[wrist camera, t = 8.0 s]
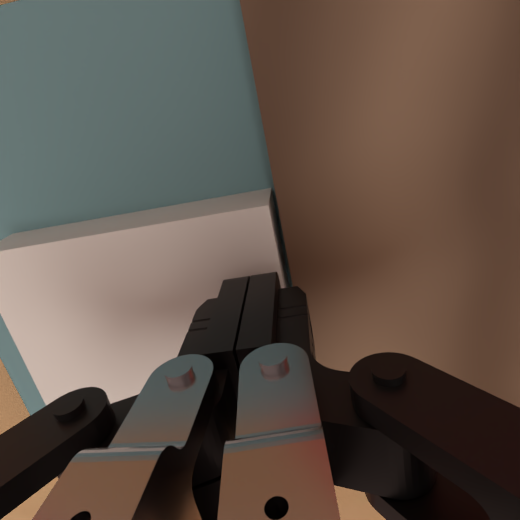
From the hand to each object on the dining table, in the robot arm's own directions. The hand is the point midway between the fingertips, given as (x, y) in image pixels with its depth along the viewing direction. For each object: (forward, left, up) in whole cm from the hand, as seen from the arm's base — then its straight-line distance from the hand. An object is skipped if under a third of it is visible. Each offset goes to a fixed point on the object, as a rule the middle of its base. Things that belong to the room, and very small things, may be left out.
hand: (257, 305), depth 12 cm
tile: (+4, 0, -3) cm, 5 cm away
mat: (+5, 0, -3) cm, 6 cm away
